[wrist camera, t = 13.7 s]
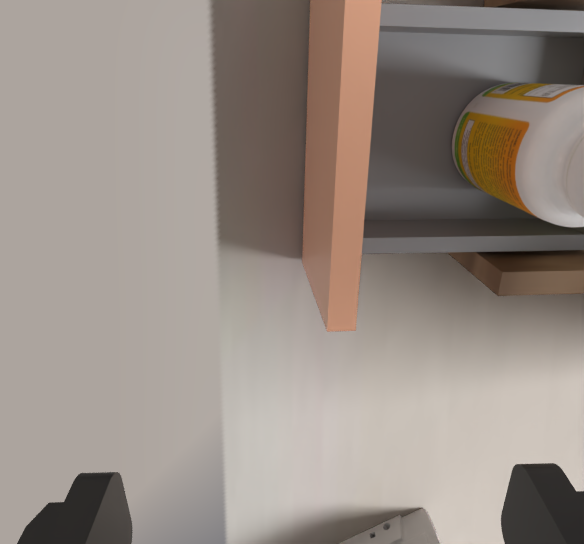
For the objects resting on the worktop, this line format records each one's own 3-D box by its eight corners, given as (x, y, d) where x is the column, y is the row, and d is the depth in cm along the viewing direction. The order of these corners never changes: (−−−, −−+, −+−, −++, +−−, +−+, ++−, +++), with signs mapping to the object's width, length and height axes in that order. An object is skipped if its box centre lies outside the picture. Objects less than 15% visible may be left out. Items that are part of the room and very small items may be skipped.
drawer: (302, 262, 28) (327, 331, 20) (311, -36, 22) (349, -87, 15) (542, 257, 29) (646, 320, 22) (605, -22, 24) (771, -63, 17)
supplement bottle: (492, 210, 27) (622, 281, 18) (427, 143, 25) (535, 185, 16) (570, 133, 26) (751, 166, 17) (508, 57, 24) (673, 49, 15)
